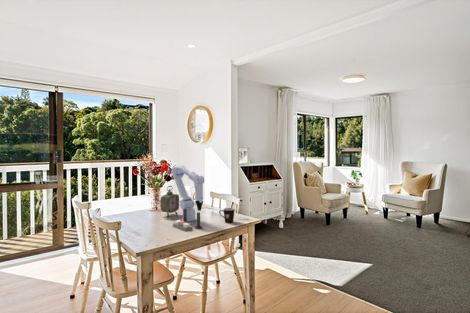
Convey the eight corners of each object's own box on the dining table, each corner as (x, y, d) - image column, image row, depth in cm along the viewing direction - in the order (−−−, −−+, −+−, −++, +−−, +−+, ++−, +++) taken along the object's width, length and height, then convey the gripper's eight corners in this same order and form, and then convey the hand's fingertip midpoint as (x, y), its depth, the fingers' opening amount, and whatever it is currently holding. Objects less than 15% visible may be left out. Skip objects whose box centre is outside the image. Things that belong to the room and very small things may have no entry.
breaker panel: (179, 224, 210) (179, 219, 210) (192, 229, 198) (192, 223, 198) (172, 226, 206) (172, 220, 205) (185, 231, 194) (185, 225, 194)
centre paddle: (182, 223, 204) (182, 220, 204) (185, 224, 202) (185, 221, 201) (178, 224, 202) (178, 221, 202) (181, 225, 199) (181, 222, 199)
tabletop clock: (168, 218, 228) (167, 187, 227) (159, 216, 232) (159, 186, 231) (179, 214, 241) (179, 185, 240) (171, 212, 245) (170, 184, 244)
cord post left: (185, 221, 217) (185, 207, 217) (189, 223, 214) (189, 208, 213) (180, 223, 214) (180, 208, 213) (184, 224, 210) (183, 210, 210)
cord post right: (199, 226, 205) (199, 211, 204) (203, 228, 201) (203, 212, 201) (193, 228, 201) (193, 212, 201) (197, 229, 198) (197, 214, 197)
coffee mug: (237, 221, 216) (236, 209, 216) (228, 224, 210) (228, 211, 210) (226, 219, 225) (226, 206, 224) (218, 221, 219) (218, 208, 218)
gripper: (192, 191, 217) (192, 208, 217) (195, 194, 203) (195, 213, 204) (201, 190, 219) (201, 208, 220) (205, 193, 205) (205, 212, 206)
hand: (199, 210), depth 212 cm, fingers closed
